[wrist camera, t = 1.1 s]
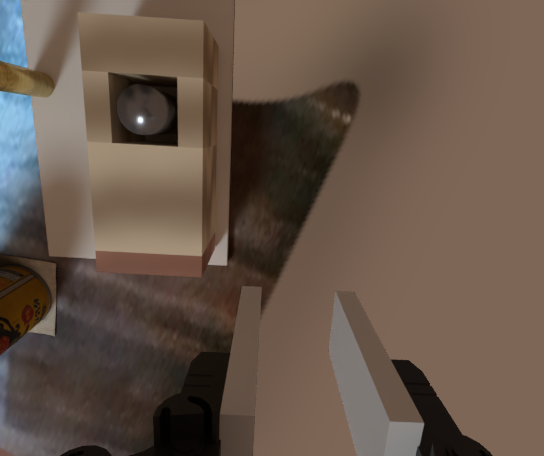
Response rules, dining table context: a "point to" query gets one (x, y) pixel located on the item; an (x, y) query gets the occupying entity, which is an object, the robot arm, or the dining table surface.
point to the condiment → (26, 298)
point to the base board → (71, 111)
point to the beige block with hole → (151, 144)
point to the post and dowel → (130, 106)
